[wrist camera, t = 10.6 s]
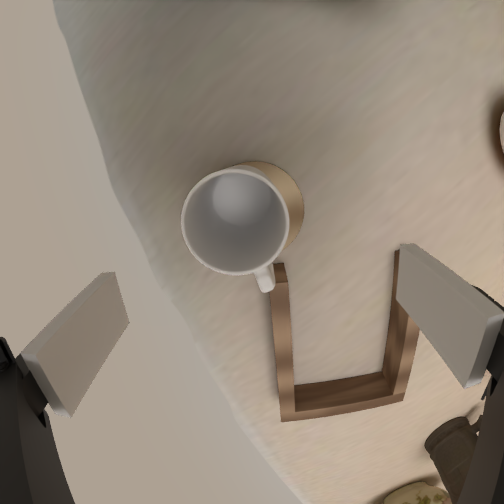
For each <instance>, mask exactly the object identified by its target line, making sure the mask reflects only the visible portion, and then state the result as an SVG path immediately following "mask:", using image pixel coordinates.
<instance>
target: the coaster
mask: <svg viewBox="0 0 504 504" xmlns="http://www.w3.org/2000/svg"><path fill="white" fill-rule="evenodd" d="M237 165H248V166H252V167H255V168H257V169H259V170H260V171H262V172H263V173H264V174H266V175H267V176H268V178H269V179H270V180H271V181H272V183H273V184H274V185H275V186H276V187H277V189H278V190H279V192H280V193H281V195H282V197H283V199H284V201H285V203H286V206H287V209H288V213H289V233H288V237H287V240H286V243H285V245H284V247H283V249H282V250H284V249H285V248H286V247H287V246H288V245H289V244H290V243H291V242H292V241H293V240H294V239H295V237H296V236H297V234H298V232H299V230H300V228H301V226H302V222H303V217H304V204H303V199H302V195H301V192H300V190H299V188H298V186H297V185H296V183H295V182H294V180H293V179H292V178H291V177H290V176H289V175H288V174H287V173H286V172H284V171H283V170H281V169H280V168H278V167H276V166H274V165H271V164H269V163H264V162H257V161H253V162H244V163H240V164H237ZM235 166H236V165H235Z"/></svg>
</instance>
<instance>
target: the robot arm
mask: <svg viewBox="0 0 504 504" xmlns="http://www.w3.org/2000/svg"><path fill="white" fill-rule="evenodd" d="M396 300H397V301H398V302H399V303H400V305H401V306H402V307H403V308H404V310H405V311H406V312H407V313H408V315H409V316H410V317H411V318H412V320H413V321H414V322H415V323H416V325H417V326H418V327H419V328H420V330H421V331H422V332H423V334H424V335H425V336H426V338H427V339H428V340H429V341H430V343H431V344H432V345H433V347H434V348H435V349H436V351H437V352H438V353H439V355H440V356H441V357H442V359H443V360H444V361H445V363H446V364H447V366H448V367H449V368H450V370H451V371H452V372H453V374H454V375H455V377H456V378H457V380H458V381H459V382H460V384H461V385H462V387H463V388H464V389H466V388H468V387H471V386H474V385H476V384H479V383H481V381H482V378H483V376H484V373H485V371H486V369H487V370H488V371H489V372H490V373H491V375H492V376H491V378H490V380H489V383H488V385H487V387H486V389H485V391H484V394H483V396H482V398H481V400H484V398H485V396H486V401H485V406H484V412H483V417H482V422H481V426H480V431H479V435H478V439H477V443H476V447H475V450H474V454H473V458H472V461H471V464H470V468H469V471H468V474H467V477H466V480H465V483H464V486H463V489H462V491H461V494H460V497H459V499H458V502H457V504H504V307H502V306H501V305H500V304H499V303H498V302H496V301H494V299H493V298H491V297H490V296H488V294H486V293H485V292H484V291H483V290H481V289H480V288H478V287H475V286H473V285H471V284H469V283H468V282H466V281H465V280H464V279H463V278H461V277H460V276H459V275H457V274H456V273H455V272H453V271H452V270H451V269H449V268H448V267H447V266H445V265H444V264H443V263H441V262H440V261H438V260H437V259H436V258H434V257H433V256H432V255H430V254H429V253H427V252H426V251H424V250H423V249H422V248H420V247H419V246H417V245H416V244H414V243H412V244H403V245H400V255H399V270H398V282H397V292H396ZM128 324H129V319H128V316H127V313H126V310H125V306H124V303H123V300H122V296H121V293H120V289H119V286H118V283H117V279H116V275H115V272H109V273H101V274H100V275H99V276H98V277H97V278H95V280H93V281H92V282H91V283H90V284H89V285H88V286H87V287H86V288H85V289H84V290H82V291H81V292H80V293H79V294H78V295H77V296H76V297H75V298H74V299H73V300H72V301H71V302H70V303H69V304H68V305H67V306H66V307H65V308H64V309H63V310H62V311H61V312H60V313H59V314H58V315H57V316H56V317H55V318H54V319H53V320H52V321H51V322H50V323H49V324H48V325H47V326H46V327H45V328H44V329H43V330H42V331H41V332H40V333H39V334H38V335H37V336H36V337H35V338H34V339H33V340H32V341H31V342H30V343H29V344H28V345H27V346H26V348H25V349H24V350H23V351H22V352H21V353H20V354H19V355H18V356H17V357H16V359H15V358H14V356H13V354H12V352H11V350H10V348H9V346H8V344H7V341H6V339H5V338H3V337H0V504H75V502H74V500H73V497H72V495H71V492H70V489H69V486H68V484H67V481H66V478H65V475H64V472H63V469H62V465H61V462H60V459H59V455H58V452H57V449H56V445H55V441H54V437H53V433H52V429H51V425H50V420H49V416H48V414H47V412H46V411H45V410H44V408H45V407H46V405H47V403H49V405H50V406H51V408H52V409H53V411H54V412H55V414H57V415H61V416H66V417H70V418H71V417H72V416H73V414H74V412H75V410H76V409H77V407H78V405H79V403H80V402H81V400H82V398H83V397H84V395H85V393H86V391H87V389H88V388H89V386H90V385H91V383H92V381H93V380H94V378H95V376H96V375H97V373H98V371H99V370H100V368H101V367H102V365H103V363H104V362H105V360H106V359H107V357H108V355H109V354H110V352H111V351H112V349H113V347H114V346H115V344H116V343H117V341H118V339H119V338H120V337H121V335H122V333H123V332H124V330H125V329H126V327H127V326H128Z"/></svg>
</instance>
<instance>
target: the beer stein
mask: <svg viewBox="0 0 504 504" xmlns="http://www.w3.org/2000/svg"><path fill="white" fill-rule="evenodd" d="M482 417H483V415H480V417H479V419H478V420H477V422H476V423H475V424H473V425H470V424H469V421H468V419H467V418H465V417H459V418H455V419H452V420H450V421H448V422H447V423H445V424H444V425H442V426H440V427H439V428H438V429H436V430H435V431H434V432H433V433H432V434H431V435H430V436H429V438H428V439H427V441H426V443H425V448H426V450H427V451H428V453H429V454H430V458H431V459H432V460H433V462H434V464H435V466H436V468H437V470H438V472H439V474H440V476H441V479H442V481H443V484H444V486H445V488H446V490H447V491H448V493H449V495H450V498H451V502H452V504H457V502H458V499H459V497H460V494H461V491H462V489H463V486H464V483H465V480H466V477H467V474H468V471H469V468H470V464H471V461H472V458H473V454H474V450H475V447H476V443H477V439H478V436H477V434H476V433H477V432H478V431H480V426H481V422H482Z"/></svg>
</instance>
